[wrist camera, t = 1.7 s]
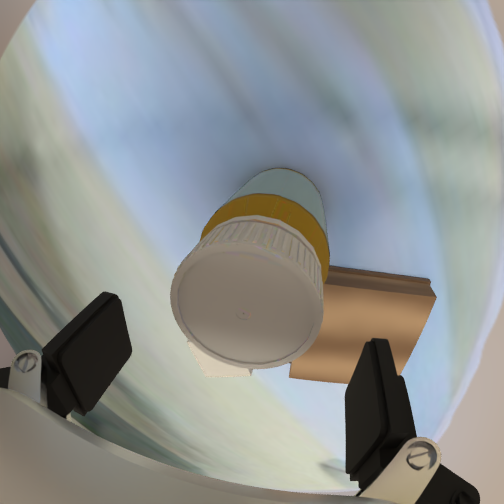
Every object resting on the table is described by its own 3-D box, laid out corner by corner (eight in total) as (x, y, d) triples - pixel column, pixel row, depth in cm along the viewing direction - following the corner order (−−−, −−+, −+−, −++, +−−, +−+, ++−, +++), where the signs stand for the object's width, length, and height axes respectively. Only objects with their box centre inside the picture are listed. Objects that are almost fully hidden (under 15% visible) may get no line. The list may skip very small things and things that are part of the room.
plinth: (306, 262, 26) (306, 279, 23) (429, 278, 24) (439, 295, 22) (289, 359, 31) (286, 378, 29) (390, 368, 30) (394, 387, 27)
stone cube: (203, 312, 31) (186, 342, 26) (246, 307, 30) (234, 338, 25) (218, 346, 33) (206, 377, 28) (259, 343, 31) (250, 375, 27)
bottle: (337, 221, 24) (363, 342, 11) (270, 258, 27) (228, 389, 13) (293, 150, 22) (266, 189, 9) (225, 195, 25) (130, 283, 12)
